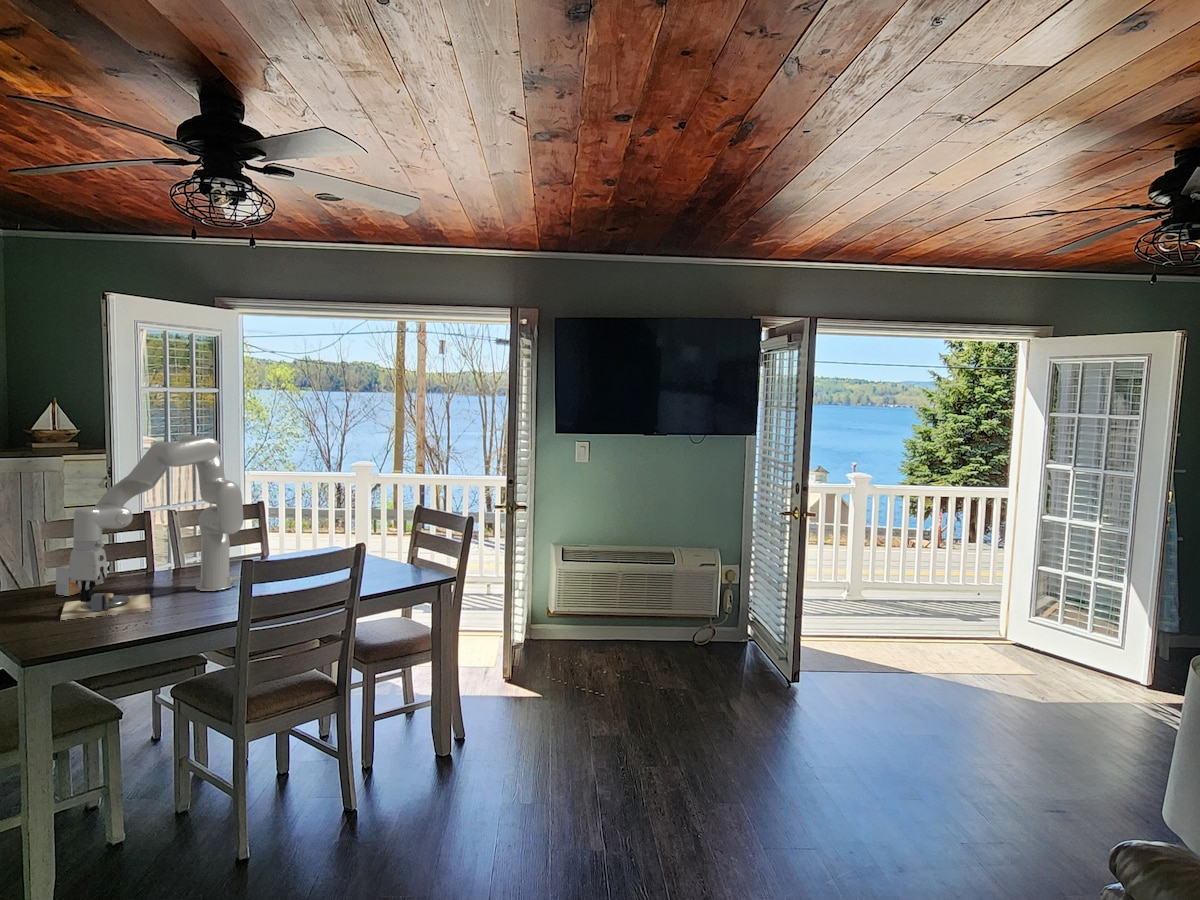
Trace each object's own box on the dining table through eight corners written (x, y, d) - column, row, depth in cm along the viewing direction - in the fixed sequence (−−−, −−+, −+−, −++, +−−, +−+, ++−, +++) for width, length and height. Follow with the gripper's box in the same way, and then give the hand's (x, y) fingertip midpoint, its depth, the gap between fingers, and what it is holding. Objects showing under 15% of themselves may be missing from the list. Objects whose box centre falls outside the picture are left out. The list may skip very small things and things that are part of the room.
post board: (149, 598, 246) (149, 580, 246) (150, 611, 231) (150, 592, 231) (65, 606, 232) (65, 587, 232) (60, 621, 218) (60, 600, 217)
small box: (68, 597, 242) (68, 568, 242) (55, 596, 244) (55, 566, 243) (89, 592, 250) (89, 563, 250) (76, 590, 251) (76, 562, 251)
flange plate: (95, 598, 236) (95, 584, 235) (134, 597, 239) (135, 583, 239) (74, 611, 221) (74, 596, 221) (117, 610, 225) (117, 595, 224)
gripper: (118, 544, 226) (116, 599, 227) (76, 542, 227) (75, 596, 228) (99, 549, 219) (98, 605, 220) (56, 545, 220) (55, 602, 221)
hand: (86, 600), depth 224 cm, fingers closed
